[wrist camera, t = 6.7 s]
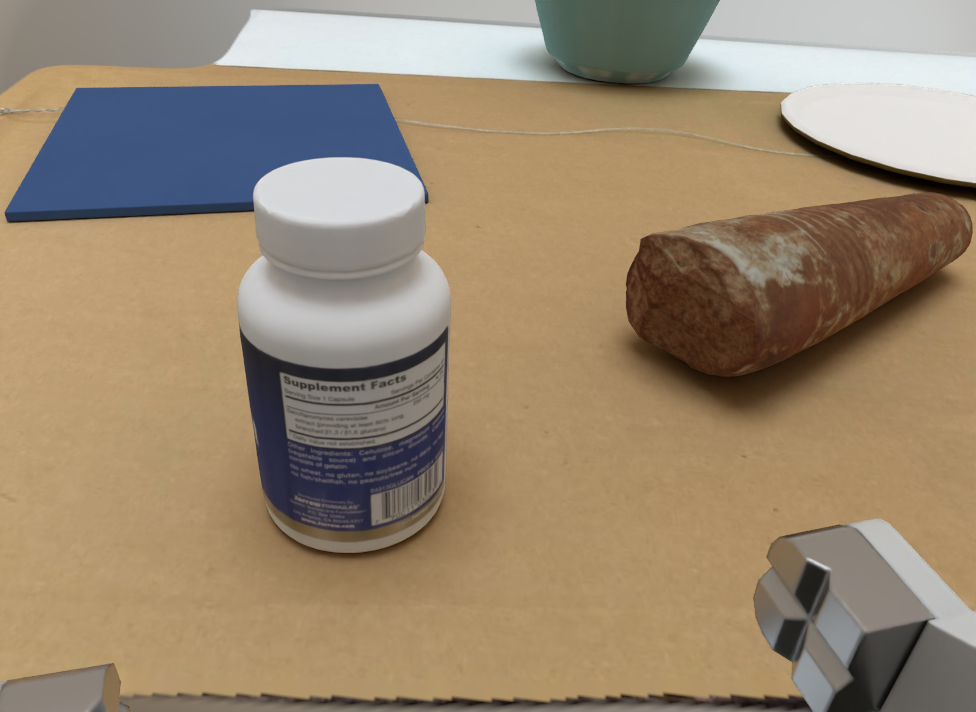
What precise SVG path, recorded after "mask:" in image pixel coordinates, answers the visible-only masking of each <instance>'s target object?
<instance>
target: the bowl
mask: <svg viewBox="0 0 976 712" xmlns="http://www.w3.org/2000/svg"><path fill="white" fill-rule="evenodd" d="M719 1H720V0H535V3H536V7H537V11H538V16H539V19H540V24H541V28H542V32H543V36H544V41H545V45H546V48H547V50H548V52H549V53H550V54H551V55H552V57H553V58H554V59H555V60H556V61H557V62H558V63H559V64H560V66H561V67H562V68H563V69H565V70H566V71H568V72H570V73H572V74H575V75H577V76H580V77H584V78H588V79H592V80H598V81H604V82H613V83H630V84H638V83H649V82H655V81H658V80H661V79H663V78H665V77H666V76H667V75H669V74H670V73H671V72H673V71H674V70H676V69H678V68H679V67H681V66H682V65H683V64H684V63H685V61H686V60H687V58H688V56H689V54H690V53H691V51H692V49H693V47H694V46H695V44H696V42H697V40H698V39H699V37H700V35H701V33H702V32H703V30H704V28H705V26H706V25H707V23H708V21H709V19H710V17H711V16H712V14H713V12H714V10H715V8H716V6H717V5H718V2H719Z"/></svg>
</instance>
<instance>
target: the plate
mask: <svg viewBox="0 0 976 712" xmlns="http://www.w3.org/2000/svg"><path fill="white" fill-rule="evenodd" d="M781 116H782V118H783V119H784V120H785V121H786V122H787V123H788V124H789V125H790V127H791V128H792V129H793V130H794V131H795V132H797V133H798V134H800V135H802V136H803V137H805V138H807V139H808V140H810V141H812V142H813V143H815V144H817V145H818V146H821V147H823V148H826V149H828V150H830V151H833V152H835V153H838V154H840V155H842V156H845V157H847V158H850V159H852V160H855V161H859V162H862V163H865V164H868V165H872V166H875V167H878V168H882V169H885V170H888V171H891V172H895V173H899V174H904V175H908V176H913V177H917V178H922V179H926V180H931V181H936V182H940V183H945V184H952V185H959V186H966V187H973V188H976V96H973V95H967V94H962V93H956V92H951V91H945V90H939V89H933V88H924V87H916V86H908V85H900V84H883V83H833V84H825V85H818V86H811V87H808V88H805V89H802V90H799V91H796V92H793V93H791V94H790V95H789V96H788V97H787V98H786V99H785V100H784V101H782V102H781Z"/></svg>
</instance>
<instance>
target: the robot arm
mask: <svg viewBox="0 0 976 712" xmlns="http://www.w3.org/2000/svg"><path fill="white" fill-rule="evenodd" d="M766 557H767V559H768V560H769V562H770V564H771V565H772V567H771V568H770V569H769V570H768V571H767V572H766V573H765V574H764V575H763V576H762V577H761V578H760V579H759V580H758V583H757V586H756V590H755V593H754V597H753V599H754V607H755V615H756V619H757V622H758V624H759V627H760V629H761V632H762V634H763V636H764V637H765V639H766V640H767V642H768V643H769V645H770V647H771V648H772V650H774V651H775V652H777V653H779V654H780V655H782V656H783V657H785V658H787V659H788V660H790V661H792V680H793V682H794V683H795V685H796V686H797V688H798V689H799V691H800V692H801V694H802V695H803V697H804V698H805V700H806V702H807V703H808V705H809V706H810V708H811V709H812V711H813V712H877V711H880V712H976V610H973V611H971V610H970V609H969V608H968V607H967V605H966V604H965V603H964V602H963V601H962V600H961V599H960V598H959V597H958V596H957V595H956V594H955V593H954V592H953V590H952V589H951V588H950V587H949V586H948V585H947V584H946V583H945V582H944V581H943V580H942V579H941V578H940V577H939V576H938V574H937V573H936V572H935V571H934V570H933V569H932V568H931V567H930V566H929V565H928V564H927V563H926V562H925V561H924V560H923V558H922V557H921V556H920V555H919V554H918V553H917V552H916V551H915V550H914V549H913V548H912V547H911V546H910V545H909V543H908V542H907V541H906V540H905V539H904V538H903V537H902V536H901V535H900V534H899V533H898V532H897V531H896V530H895V529H894V527H893V526H892V525H890V524H889V523H887V522H885V521H883V520H881V519H880V518H878V519H871V520H865V521H860V522H855V523H850V524H846V525H835V526H830V527H825V528H820V529H815V530H810V531H805V532H800V533H796V534H791V535H786V536H781V537H779V538H777V539H776V540H775V541H774V542H773V543H771V546H770V548H769V551H768V554H767V556H766ZM120 685H121V681H120V678H119V675H118V673H117V670H116V668H115V665H114V663H112V664H105V665H99V666H93V667H87V668H81V669H75V670H68V671H62V672H56V673H50V674H44V675H38V676H32V677H25V678H19V679H13V680H7V681H1V682H0V712H130V709H129V706H127V705H125V704H123V703H121V702H119V696H120Z"/></svg>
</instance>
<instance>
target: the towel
mask: <svg viewBox="0 0 976 712" xmlns="http://www.w3.org/2000/svg"><path fill="white" fill-rule="evenodd" d="M334 157H350V158H365V159H371V160H377V161H382V162H386V163H390V164H393V165H396V166H399V167H401V168H403V169H405V170H407V171H409V172H411V173H413V174H414V175H415V176H416V177H417V178H418V179H419V180H420V181H421V183H422V185H423V187H424V192H425V202H428V192H427V190H426V188H425V186H424V183H423V181H422V179H421V177H420V175H419V172H418V170H417V168H416V166H415V163H414V161H413V159H412V157H411V155H410V152H409V150H408V148H407V146H406V144H405V141H404V139H403V137H402V135H401V132H400V130H399V128H398V126H397V124H396V121H395V119H394V117H393V115H392V112H391V110H390V108H389V106H388V104H387V101H386V99H385V97H384V95H383V93H382V90H381V88H380V86H379V84H353V85H276V86H199V87H121V88H76V90H75V92H74V93H73V95H72V97H71V98H70V100H69V102H68V104H67V105H66V107H65V109H64V111H63V112H62V114H61V116H60V117H59V119H58V121H57V123H56V124H55V126H54V128H53V130H52V131H51V133H50V135H49V136H48V138H47V140H46V142H45V143H44V145H43V147H42V149H41V150H40V152H39V154H38V156H37V157H36V159H35V161H34V162H33V164H32V166H31V168H30V169H29V171H28V173H27V175H26V176H25V178H24V180H23V181H22V183H21V185H20V187H19V188H18V190H17V192H16V194H15V195H14V197H13V199H12V200H11V202H10V204H9V206H8V207H7V209H6V211H5V216H6V219H7V221H8V222H10V221H32V220H54V219H75V218H97V217H119V216H140V215H162V214H183V213H205V212H227V211H248V210H254V202H253V192H254V188H255V186H256V184H257V183H258V182H259V180H260V179H261V178H262V177H264V176H265V175H266V174H268V173H270V172H271V171H273V170H275V169H277V168H280V167H282V166H285V165H288V164H291V163H295V162H300V161H305V160H311V159H319V158H334Z"/></svg>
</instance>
